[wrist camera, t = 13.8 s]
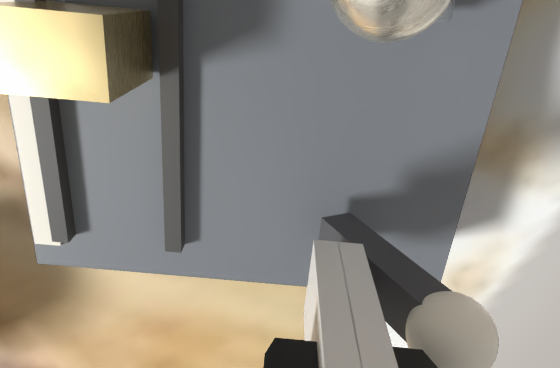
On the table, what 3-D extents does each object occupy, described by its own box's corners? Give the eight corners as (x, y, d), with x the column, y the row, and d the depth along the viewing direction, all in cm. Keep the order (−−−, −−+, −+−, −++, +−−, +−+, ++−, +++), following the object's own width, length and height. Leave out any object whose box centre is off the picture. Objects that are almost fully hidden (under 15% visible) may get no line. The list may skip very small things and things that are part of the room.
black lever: (310, 209, 14) (466, 345, 9) (362, 200, 15) (531, 319, 10) (303, 264, 15) (441, 416, 10) (353, 252, 16) (503, 385, 11)
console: (11, -384, 12) (-133, -578, 8) (551, -330, 13) (681, -494, 8) (82, 215, 21) (28, 272, 16) (410, 244, 21) (440, 307, 16)
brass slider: (50, 1, 13) (-32, 3, 9) (150, 10, 13) (102, 15, 9) (58, 69, 13) (-15, 91, 10) (153, 78, 13) (109, 103, 10)
